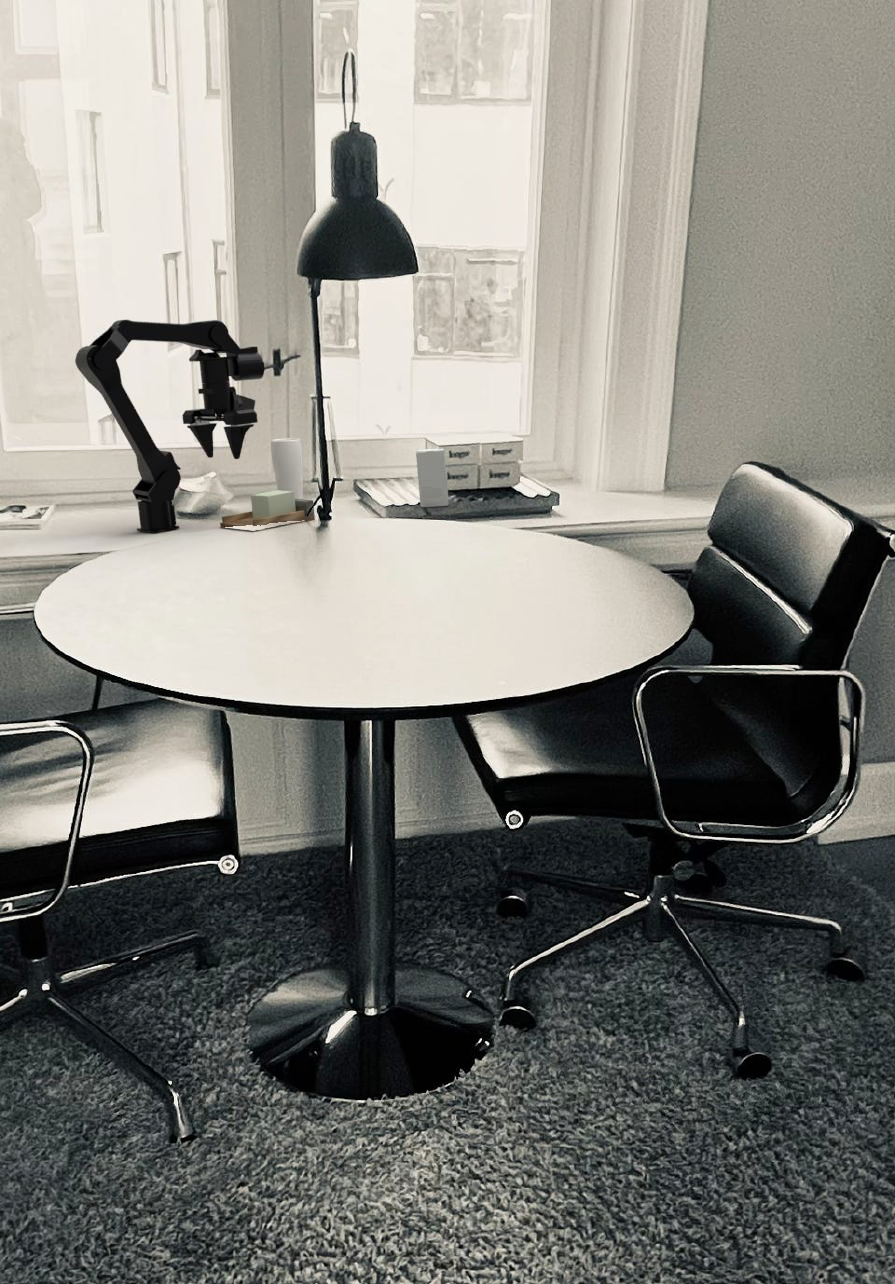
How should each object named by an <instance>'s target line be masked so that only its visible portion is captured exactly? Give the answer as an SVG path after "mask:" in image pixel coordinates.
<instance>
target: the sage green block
mask: <svg viewBox="0 0 895 1284" xmlns="http://www.w3.org/2000/svg"><path fill="white" fill-rule="evenodd" d="M250 500H251V501H250V502H251V511H252V512H253V519H261V518H266V517H272V516H277V515H282V514H287V513H292V512H296V507H295V496H294V492H292V491H279V490H278V489H277V490H271V491H267V492H266V491H265V492H260V493H256V494H255V493H254V494H250Z"/></svg>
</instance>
